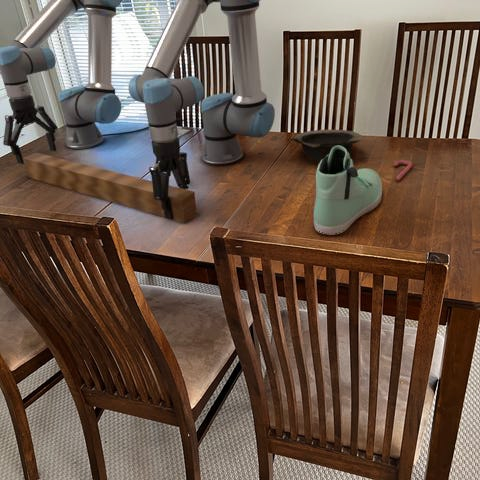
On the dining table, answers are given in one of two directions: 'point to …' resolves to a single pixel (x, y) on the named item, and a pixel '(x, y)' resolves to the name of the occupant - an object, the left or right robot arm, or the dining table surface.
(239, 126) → the right robot arm
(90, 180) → the beam
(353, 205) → the sneaker
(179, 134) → the baking ingredient package
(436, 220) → the dining table surface
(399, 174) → the candy cane
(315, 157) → the stone bowl
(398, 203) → the dining table surface
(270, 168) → the dining table surface
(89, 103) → the left robot arm
